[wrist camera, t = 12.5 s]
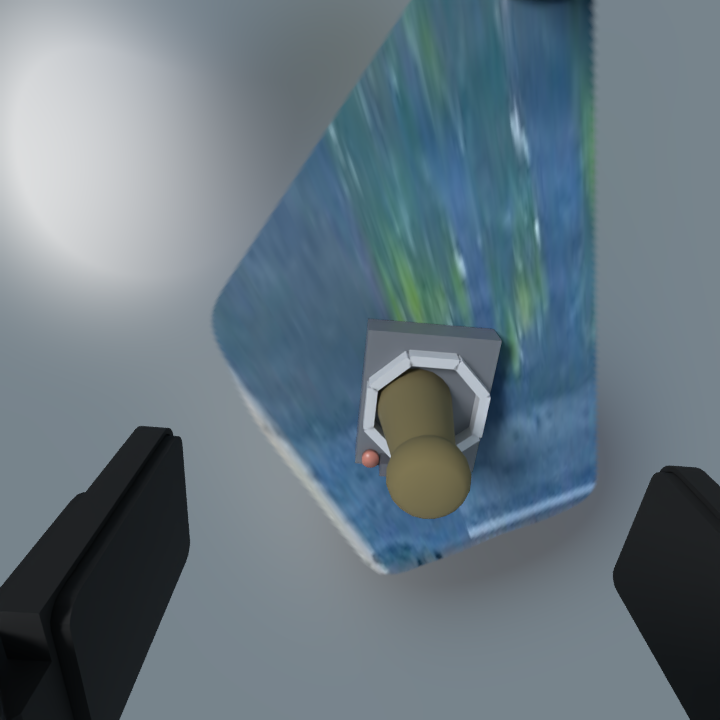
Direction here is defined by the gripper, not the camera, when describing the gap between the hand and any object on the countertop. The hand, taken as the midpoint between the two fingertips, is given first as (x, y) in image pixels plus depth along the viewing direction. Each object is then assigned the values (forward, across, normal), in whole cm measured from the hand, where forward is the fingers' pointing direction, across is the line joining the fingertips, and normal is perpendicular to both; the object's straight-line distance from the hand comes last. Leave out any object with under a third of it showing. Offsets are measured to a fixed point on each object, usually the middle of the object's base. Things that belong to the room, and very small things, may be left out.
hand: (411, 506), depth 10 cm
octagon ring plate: (+28, -5, +12) cm, 31 cm away
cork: (+26, -4, +12) cm, 29 cm away
